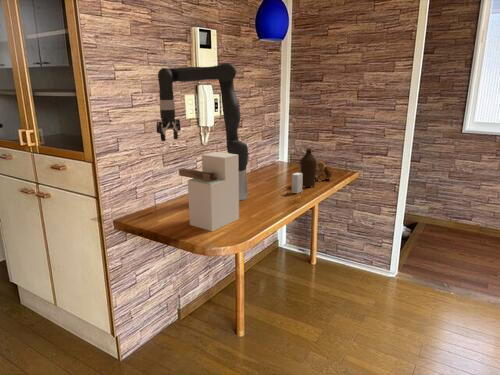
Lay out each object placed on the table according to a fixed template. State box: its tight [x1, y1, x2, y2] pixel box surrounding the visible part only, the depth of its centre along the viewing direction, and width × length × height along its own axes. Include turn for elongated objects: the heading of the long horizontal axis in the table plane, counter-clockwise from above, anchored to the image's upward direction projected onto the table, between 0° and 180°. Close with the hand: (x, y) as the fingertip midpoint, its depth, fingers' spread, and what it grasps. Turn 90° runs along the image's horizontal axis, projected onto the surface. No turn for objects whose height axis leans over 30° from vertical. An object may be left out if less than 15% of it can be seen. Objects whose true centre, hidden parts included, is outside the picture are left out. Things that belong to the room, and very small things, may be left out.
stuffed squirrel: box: [315, 160, 335, 181], centre depth 256 cm, size 10×14×13 cm
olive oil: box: [299, 147, 318, 188], centre depth 238 cm, size 11×11×25 cm
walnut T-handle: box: [178, 168, 217, 182], centre depth 172 cm, size 6×20×3 cm, turn 54°
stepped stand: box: [187, 151, 240, 232], centre depth 174 cm, size 20×14×32 cm
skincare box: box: [291, 172, 303, 194], centre depth 225 cm, size 6×4×12 cm
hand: (169, 140), depth 195 cm, fingers open, 8 cm apart
